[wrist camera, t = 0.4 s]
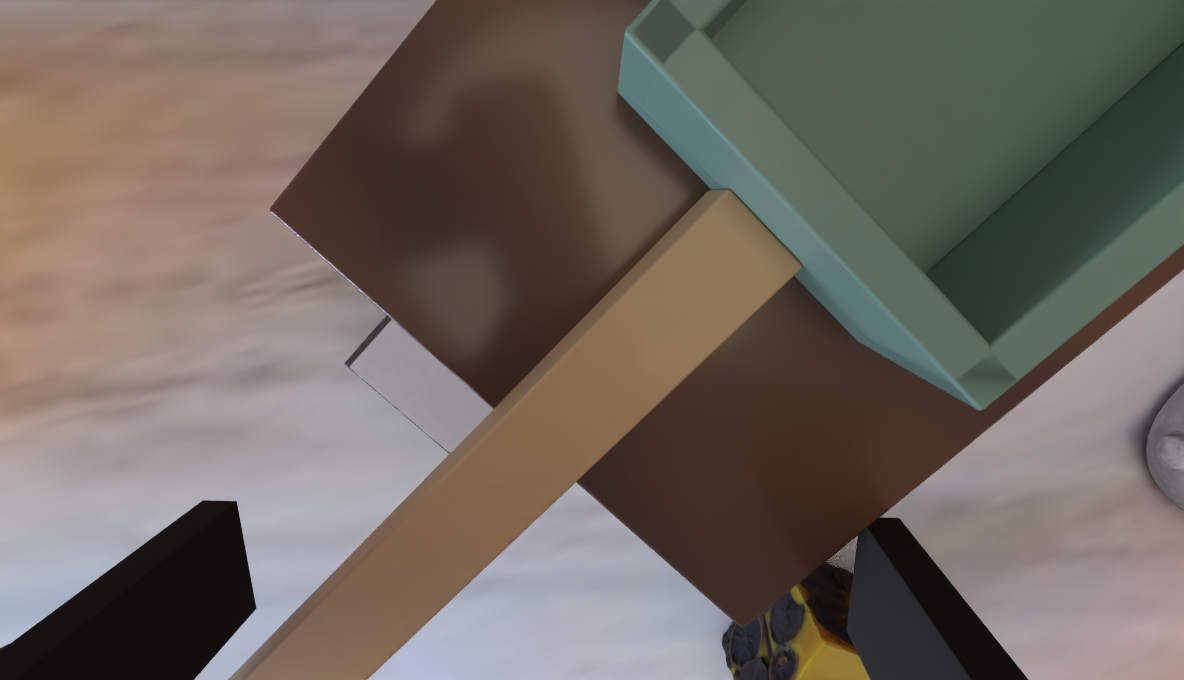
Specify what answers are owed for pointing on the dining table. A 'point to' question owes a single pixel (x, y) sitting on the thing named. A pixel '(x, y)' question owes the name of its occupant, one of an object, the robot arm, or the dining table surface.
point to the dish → (1168, 448)
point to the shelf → (594, 266)
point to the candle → (799, 634)
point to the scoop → (813, 245)
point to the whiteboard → (418, 385)
